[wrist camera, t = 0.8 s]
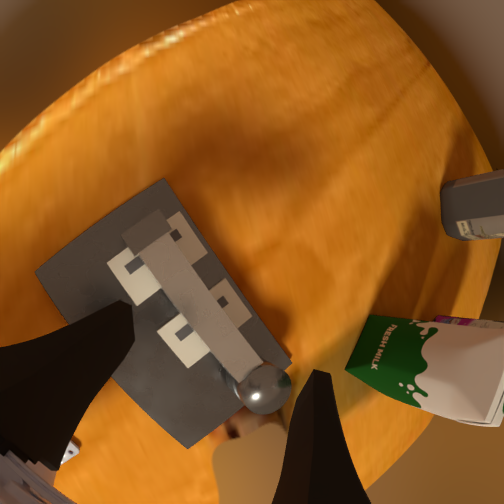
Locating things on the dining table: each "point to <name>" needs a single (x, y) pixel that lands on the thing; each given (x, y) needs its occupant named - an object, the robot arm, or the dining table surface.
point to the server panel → (153, 322)
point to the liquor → (474, 207)
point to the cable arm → (207, 317)
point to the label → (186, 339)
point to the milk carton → (434, 367)
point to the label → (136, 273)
